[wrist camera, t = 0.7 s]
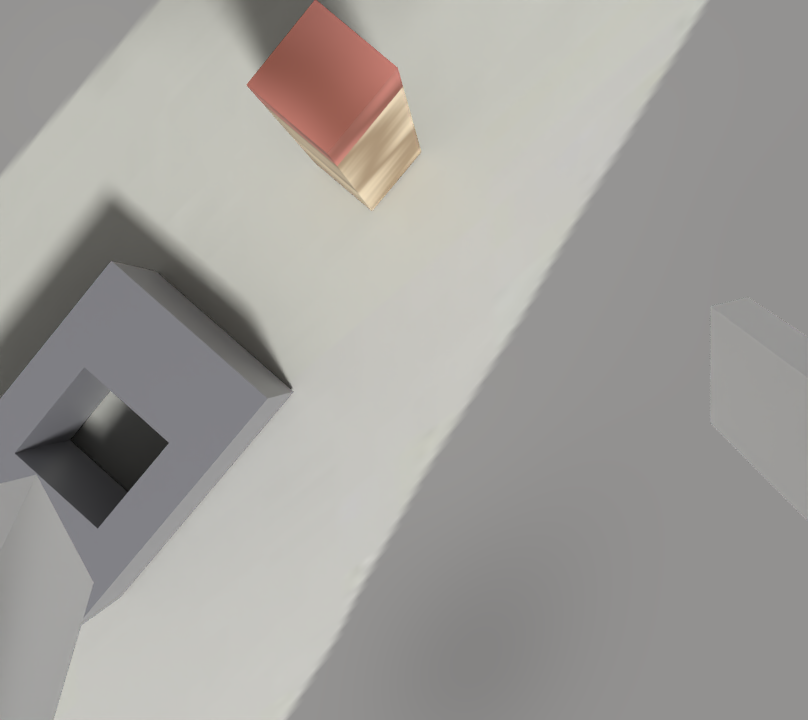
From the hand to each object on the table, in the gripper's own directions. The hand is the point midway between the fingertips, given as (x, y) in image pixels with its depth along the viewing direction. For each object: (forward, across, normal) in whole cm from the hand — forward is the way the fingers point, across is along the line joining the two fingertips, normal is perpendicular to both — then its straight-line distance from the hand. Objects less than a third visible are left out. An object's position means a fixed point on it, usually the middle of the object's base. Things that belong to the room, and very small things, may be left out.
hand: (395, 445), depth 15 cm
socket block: (+24, -13, -12) cm, 30 cm away
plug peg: (+28, +3, -1) cm, 28 cm away
